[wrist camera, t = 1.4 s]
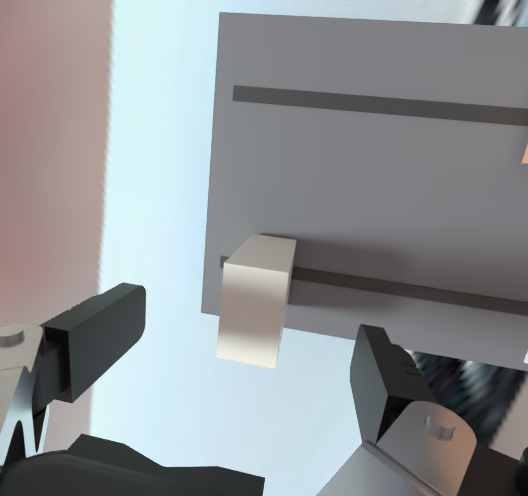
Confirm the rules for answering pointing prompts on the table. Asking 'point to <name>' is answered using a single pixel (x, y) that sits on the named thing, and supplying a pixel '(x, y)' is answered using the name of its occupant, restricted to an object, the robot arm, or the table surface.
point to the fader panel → (378, 176)
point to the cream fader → (255, 300)
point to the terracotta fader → (525, 157)
